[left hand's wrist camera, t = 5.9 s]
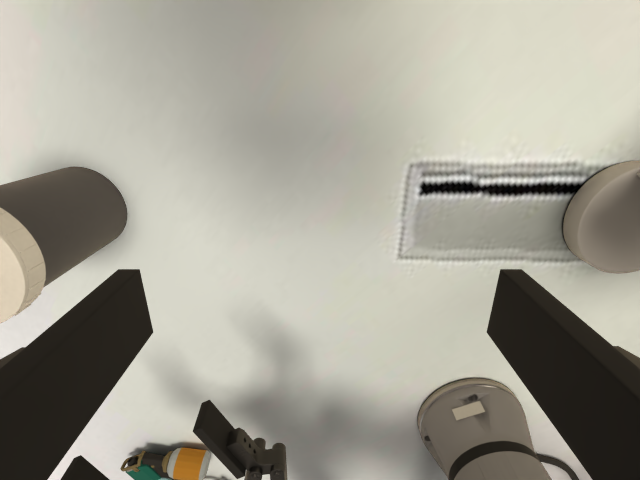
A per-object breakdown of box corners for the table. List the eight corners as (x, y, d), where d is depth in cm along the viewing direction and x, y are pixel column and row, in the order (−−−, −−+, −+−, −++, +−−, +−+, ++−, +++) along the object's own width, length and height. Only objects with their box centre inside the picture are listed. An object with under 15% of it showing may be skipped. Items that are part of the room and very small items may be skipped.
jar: (141, 201, 40) (42, 258, 26) (105, 258, 43) (-3, 338, 29) (64, 149, 38) (-92, 178, 24) (31, 212, 41) (-127, 274, 26)
